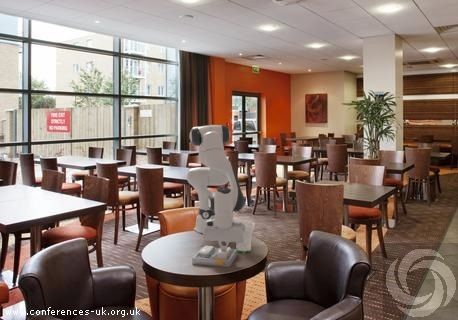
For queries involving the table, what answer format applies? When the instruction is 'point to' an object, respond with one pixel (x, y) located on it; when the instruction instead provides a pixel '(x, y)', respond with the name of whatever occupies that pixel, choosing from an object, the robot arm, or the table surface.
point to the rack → (212, 257)
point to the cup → (246, 237)
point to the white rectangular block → (224, 254)
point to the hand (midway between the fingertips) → (223, 250)
